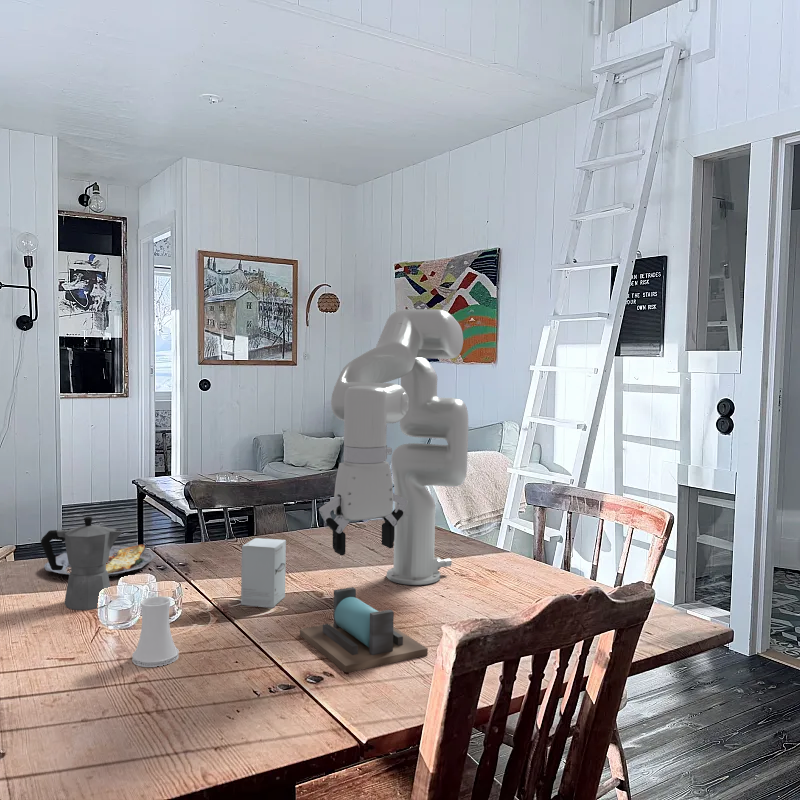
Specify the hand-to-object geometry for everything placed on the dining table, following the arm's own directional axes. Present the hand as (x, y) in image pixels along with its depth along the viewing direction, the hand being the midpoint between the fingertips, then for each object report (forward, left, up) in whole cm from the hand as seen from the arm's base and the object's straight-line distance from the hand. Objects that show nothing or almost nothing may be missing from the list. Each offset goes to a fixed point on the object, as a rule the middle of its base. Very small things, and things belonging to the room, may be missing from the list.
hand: (363, 549), depth 139 cm
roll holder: (0, 0, -17) cm, 17 cm away
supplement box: (+7, -31, -18) cm, 36 cm away
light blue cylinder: (0, 0, -16) cm, 16 cm away
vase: (+34, -11, -18) cm, 40 cm away
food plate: (+32, -73, -18) cm, 82 cm away
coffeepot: (+41, -46, -18) cm, 64 cm away
